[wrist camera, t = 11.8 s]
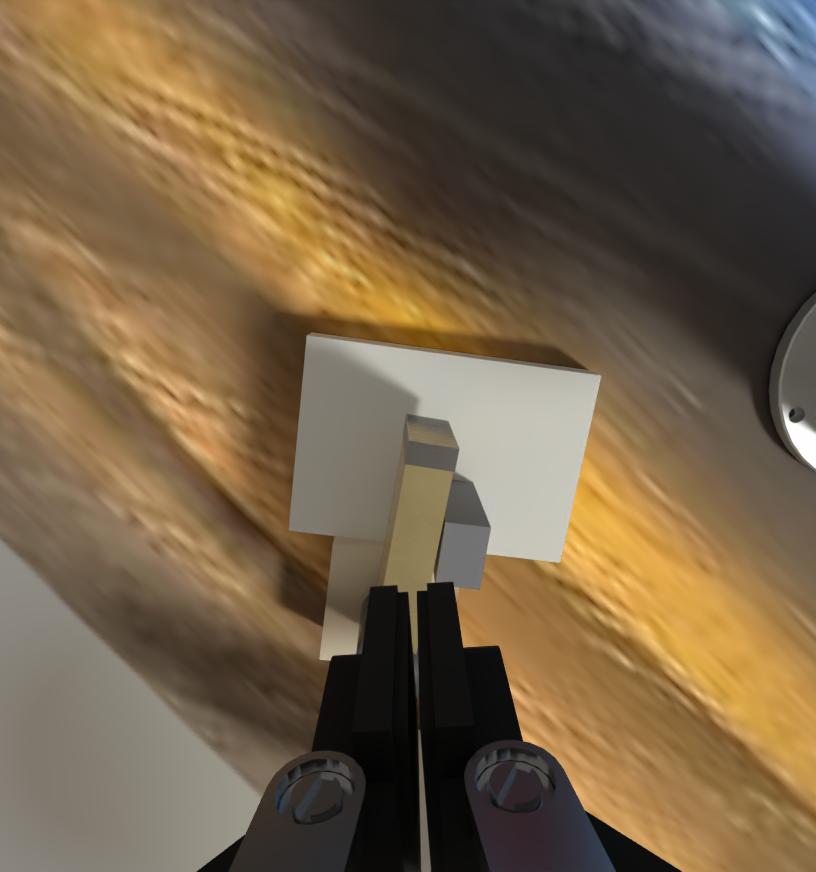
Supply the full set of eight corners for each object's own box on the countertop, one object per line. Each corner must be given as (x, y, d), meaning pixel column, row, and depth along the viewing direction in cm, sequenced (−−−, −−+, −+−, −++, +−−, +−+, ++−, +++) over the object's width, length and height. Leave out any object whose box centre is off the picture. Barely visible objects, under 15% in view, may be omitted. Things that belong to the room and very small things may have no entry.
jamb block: (337, 521, 34) (332, 544, 31) (458, 535, 34) (464, 559, 31) (325, 628, 35) (319, 659, 32) (440, 641, 36) (444, 672, 33)
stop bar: (414, 643, 32) (418, 713, 27) (356, 635, 32) (348, 704, 27) (459, 422, 29) (473, 452, 24) (395, 411, 29) (395, 439, 24)
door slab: (312, 332, 31) (285, 348, 23) (588, 370, 32) (651, 397, 24) (294, 516, 34) (264, 586, 26) (550, 546, 34) (595, 623, 27)
